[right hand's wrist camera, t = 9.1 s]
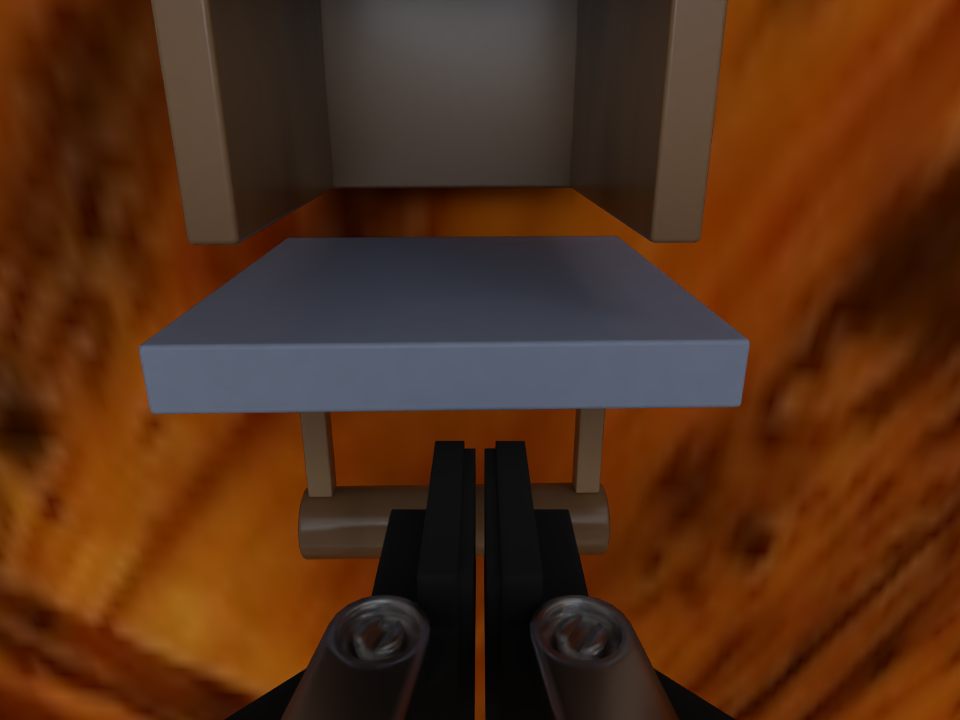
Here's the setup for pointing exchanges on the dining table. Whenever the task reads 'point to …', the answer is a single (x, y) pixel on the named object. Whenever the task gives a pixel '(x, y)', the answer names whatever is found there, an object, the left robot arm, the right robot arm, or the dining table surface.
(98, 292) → the dining table surface
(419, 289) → the drawer
